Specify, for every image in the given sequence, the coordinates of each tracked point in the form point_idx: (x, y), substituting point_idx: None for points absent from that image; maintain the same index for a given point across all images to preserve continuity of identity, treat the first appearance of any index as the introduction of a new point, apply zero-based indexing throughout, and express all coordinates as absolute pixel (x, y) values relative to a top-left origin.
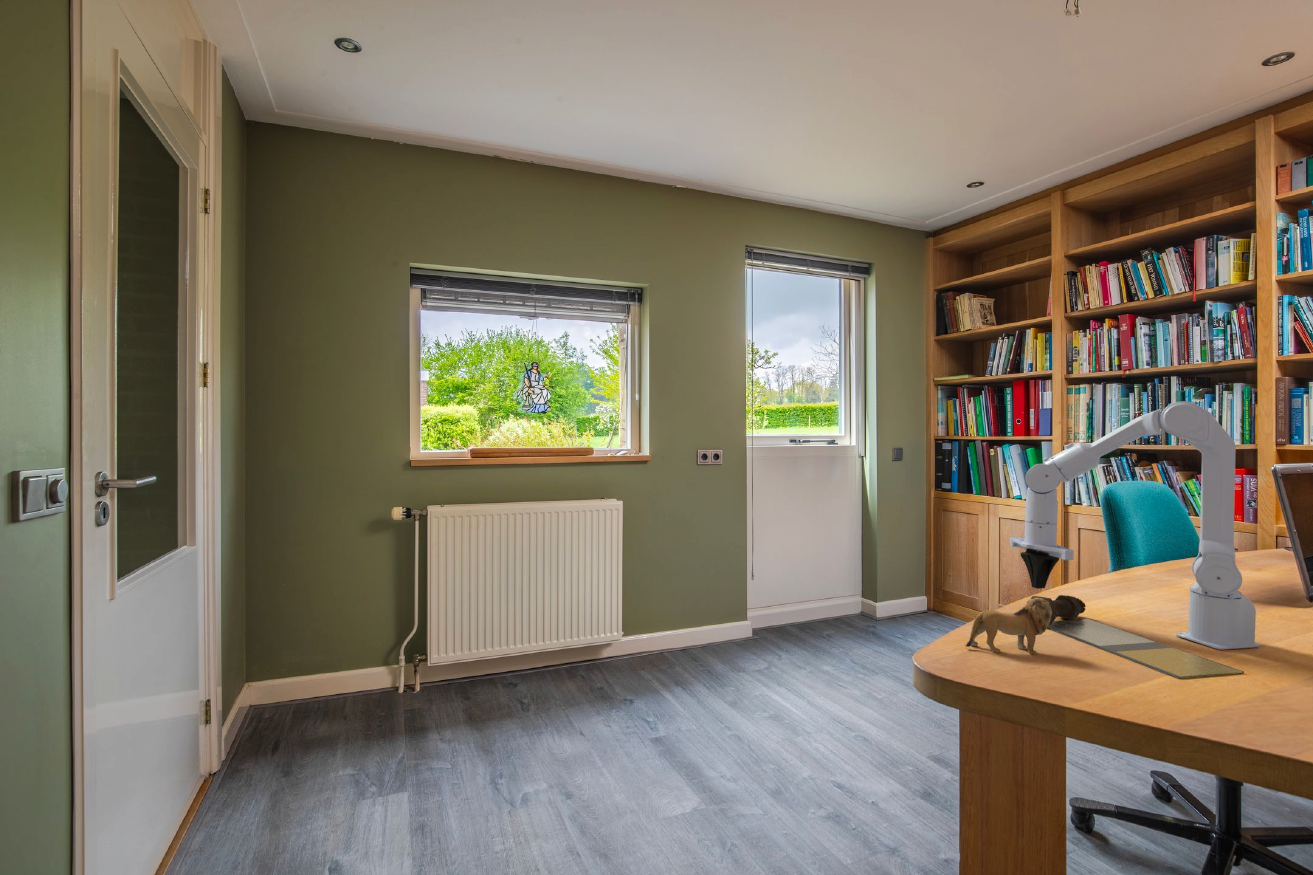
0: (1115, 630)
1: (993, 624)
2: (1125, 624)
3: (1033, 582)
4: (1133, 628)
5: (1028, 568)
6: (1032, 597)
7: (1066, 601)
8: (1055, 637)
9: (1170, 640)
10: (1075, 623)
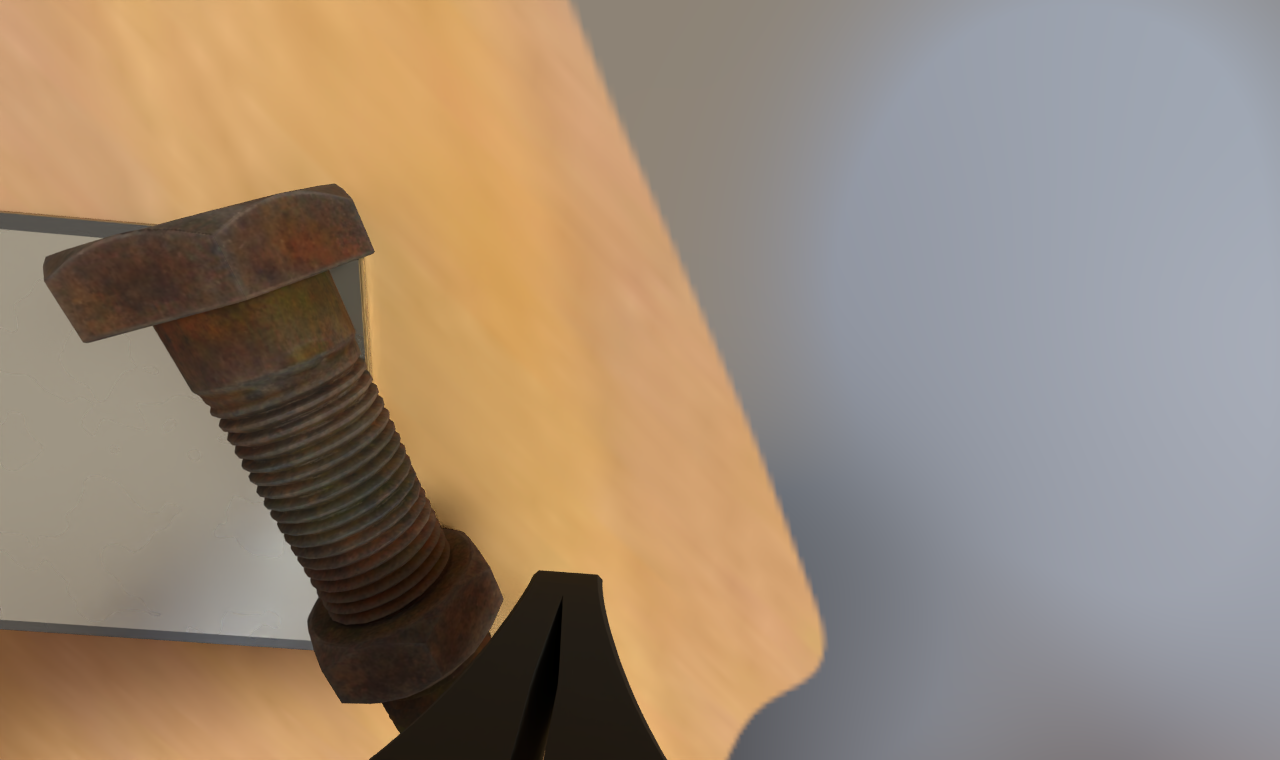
0: (145, 597)
1: None
2: (300, 754)
3: (561, 597)
4: (227, 732)
5: (608, 708)
6: (212, 227)
7: (332, 600)
8: (16, 90)
9: (19, 721)
10: None
